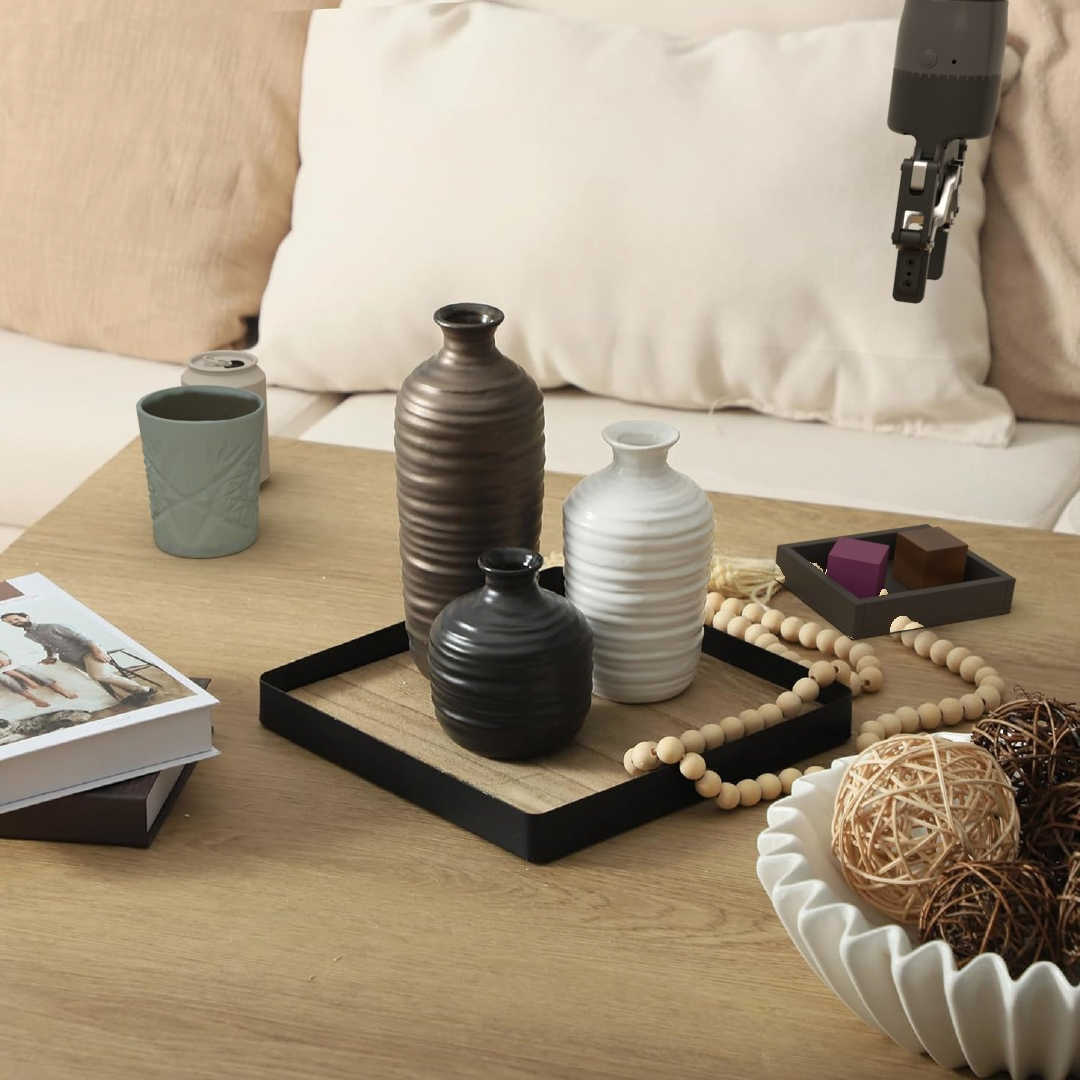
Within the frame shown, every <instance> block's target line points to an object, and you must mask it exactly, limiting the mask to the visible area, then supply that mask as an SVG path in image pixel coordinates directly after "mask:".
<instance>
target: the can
mask: <svg viewBox="0 0 1080 1080" xmlns="http://www.w3.org/2000/svg"><path fill="white" fill-rule="evenodd" d="M258 363H259V359H258V357H257V356H255V355H254V354H252V353H250V352H247V351H241V350H233V349H231V350H230V349H219V350H215V349H214V350H207V351H203V352H199V353H195V354H193V355H191V356H189V358H188V359H187V360H186V365H187V366H188V367H187V368H186V369H185V370H184V371H183V372H182V374H180V386H190V385H217V386H227V387H235V388H239V389H244V390H247V391H251V392H253V393H255V394H257V395H259V396H260V397H261V398H262V399H263V401H264V403H265V412H264V425H263V432H262V437H263V439H262V453H261V458H260V467H259V469H260V473H261V477H260V486H261V485H262V484H263V483H264V482H265V481H266V480H267V479H268V478H269V477H270V475H271V463H270V444H269V443H270V442H269V441H270V439H269V421H268V420H269V418H268V397H267V396H268V395H267V375H266V372H265V371H264V370H263V369H262V368H261V367H260V366H259V365H258Z"/></svg>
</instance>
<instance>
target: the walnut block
mask: <svg viewBox="0 0 1080 1080" xmlns="http://www.w3.org/2000/svg"><path fill="white" fill-rule="evenodd" d="M968 549H969V544H968V543H967V542H965V541H963V540H961V539H959V538H958V537H957V536H955V535H953V534H952V533H950V532H948V531H947V530H945V529H943V527H940V526H932V527H931V528H924V529H917V530H910V531H903V532H898V533H897V539H896V547H895V554H894V561H893V568H892V576H891V577H892V578H893V579H895V580H896V581H898V582H899V583H901V584H902V585H904V586H905V587H906V588H908V589H909V590H911V591H912V590H918V589H925V588H931V587H937V586H943V585H950V584H956V583H962V582H963V577H964V571H965V565H966V558H967V552H968Z"/></svg>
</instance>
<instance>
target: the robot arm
mask: <svg viewBox="0 0 1080 1080" xmlns="http://www.w3.org/2000/svg"><path fill="white" fill-rule="evenodd" d="M1009 3H1010V1H1009V0H904V4H903V9H902V12H901V16H900V19H899V25H898V28H897V29H898V30H897V35H896V36H897V37H896V42H895V51H894V52H895V53H894V61H893V69H892V77H891V78H892V79H891V85H890V86H891V87H890V93H889V103H888V111H887V119H886V125H887V128H888V129H889V130H890V131H891V132H892V133H895V134H898V135H902V136H911V137H913V138H914V139H915V140H914V141H915V145H914V146H913V147H914V148H913V153H912V155H910V158H903V161H902V163H901V164H900V180H899V187H898V192H897V201H896V209H895V216H894V223H893V230H892V232H891V235H890V239H891V244H892V245H893V246H895V249H896V250H897V256H896V263H895V272H894V278H893V285H892V295H891V296H892V298H893V300H894V301H896V302H899V303H907V304H916V305H917V304H920V303H921V302H922V301H923V300H924V298H925V296H926V295H925V294H926V288H927V280H929V281H938V280H940V279H941V278H942V277H943V275H944V270H945V262H946V255H947V249H948V242H949V234H950V230H952V229H953V226H954V225H955V221H956V220H955V218H957V215H958V214H959V212H960V206H959V205H960V201H961V198H962V183H963V180H964V177H965V173H966V159H965V158H966V152H968V146H969V145H968V144H967V143H968V142H967V141H973V140H980V139H981V140H982V139H985V138H987V137H989V136H990V135H991V134H992V133H993V131H994V129H995V123H996V115H997V109H998V102H999V96H1000V95H999V94H1000V89H1001V82H1002V74H1003V68H1004V62H1005V56H1006V55H1005V54H1006V49H1007V41H1008V31H1009ZM912 224H918V227H920V228H919V229H913V228H910V226H911V225H912Z"/></svg>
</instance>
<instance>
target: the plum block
mask: <svg viewBox="0 0 1080 1080" xmlns="http://www.w3.org/2000/svg"><path fill="white" fill-rule="evenodd" d="M838 537H839V536H838ZM889 548H890V546H889V545H883V544H878V543H872V542H867V541H861V540H856V539H850V538H845V537H839V539H838V540H837V542H836V544H835V545H834V547H833V549H832V550H831V552H830V553H829V555H828V564H827V572H826V574H827V575H828V576H829V577H831V578H832V579H833V580H835V581H836V582H837V583H839V584H840V585H841V586H843V587H844V588H845V589H847V590H848V591H849V592H851V593H852V594H853V595H855V596H856V597H858V598H859V599H862V598H868V597H874V596H879V595H880V592H881V590H882V589H884V585H885V577H886V570H887V563H888V555H889Z"/></svg>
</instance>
